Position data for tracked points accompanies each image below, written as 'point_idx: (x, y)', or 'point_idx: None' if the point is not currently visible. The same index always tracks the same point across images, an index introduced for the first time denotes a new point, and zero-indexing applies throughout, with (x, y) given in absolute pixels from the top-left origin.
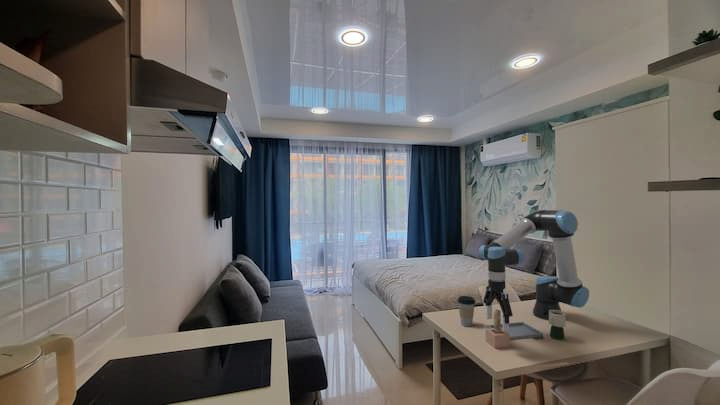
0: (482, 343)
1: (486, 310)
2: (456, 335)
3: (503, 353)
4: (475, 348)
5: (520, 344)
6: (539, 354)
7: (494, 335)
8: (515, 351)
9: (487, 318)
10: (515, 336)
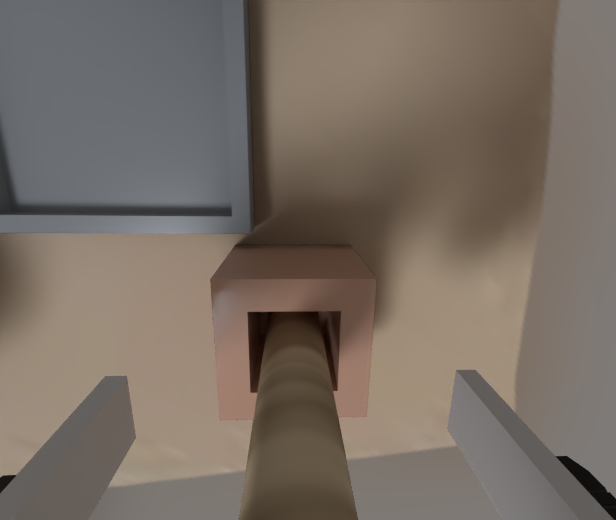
0: None
1: None
2: None
3: (388, 317)
4: None
5: (307, 117)
6: (475, 85)
7: (360, 415)
8: (388, 228)
9: (129, 444)
10: (246, 112)
